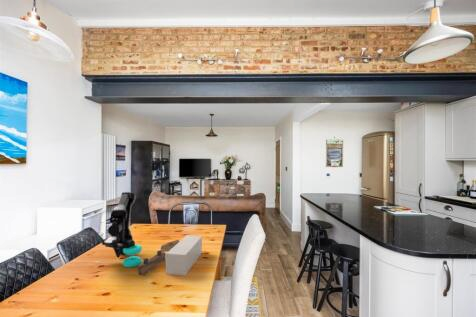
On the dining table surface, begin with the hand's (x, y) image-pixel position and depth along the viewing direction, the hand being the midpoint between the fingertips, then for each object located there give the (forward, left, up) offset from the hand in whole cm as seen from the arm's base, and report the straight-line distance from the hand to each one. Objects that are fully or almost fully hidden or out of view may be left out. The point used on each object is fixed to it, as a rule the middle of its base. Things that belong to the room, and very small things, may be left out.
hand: (118, 257), depth 142 cm
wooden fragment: (+13, +35, -3) cm, 37 cm away
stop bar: (+24, 0, -3) cm, 24 cm away
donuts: (+10, 0, -3) cm, 10 cm away
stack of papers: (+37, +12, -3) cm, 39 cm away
